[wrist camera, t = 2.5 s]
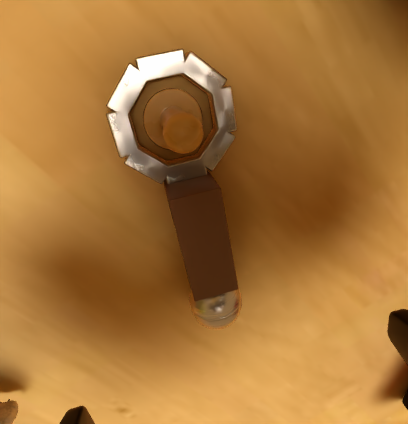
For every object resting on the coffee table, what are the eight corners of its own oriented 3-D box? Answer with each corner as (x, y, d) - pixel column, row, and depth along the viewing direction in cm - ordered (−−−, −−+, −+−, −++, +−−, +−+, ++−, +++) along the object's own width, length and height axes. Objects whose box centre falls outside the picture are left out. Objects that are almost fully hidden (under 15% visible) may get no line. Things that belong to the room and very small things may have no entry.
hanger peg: (200, 87, 13) (225, 93, 10) (201, 147, 15) (224, 172, 11) (140, 89, 13) (141, 95, 9) (145, 150, 14) (149, 178, 10)
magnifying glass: (93, 67, 12) (82, 65, 10) (219, 41, 13) (239, 34, 10) (171, 316, 18) (176, 354, 16) (255, 291, 19) (274, 325, 16)
